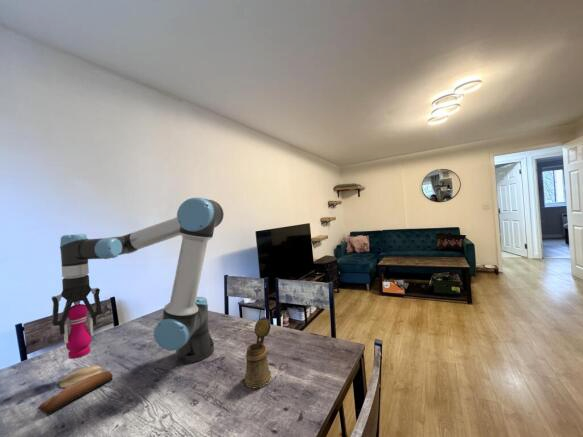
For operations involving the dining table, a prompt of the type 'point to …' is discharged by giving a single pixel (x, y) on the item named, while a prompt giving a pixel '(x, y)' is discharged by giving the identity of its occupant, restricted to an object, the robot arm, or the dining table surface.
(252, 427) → the dining table surface
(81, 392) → the sunglasses case
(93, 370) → the coaster
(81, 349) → the pepper mill
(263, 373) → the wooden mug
